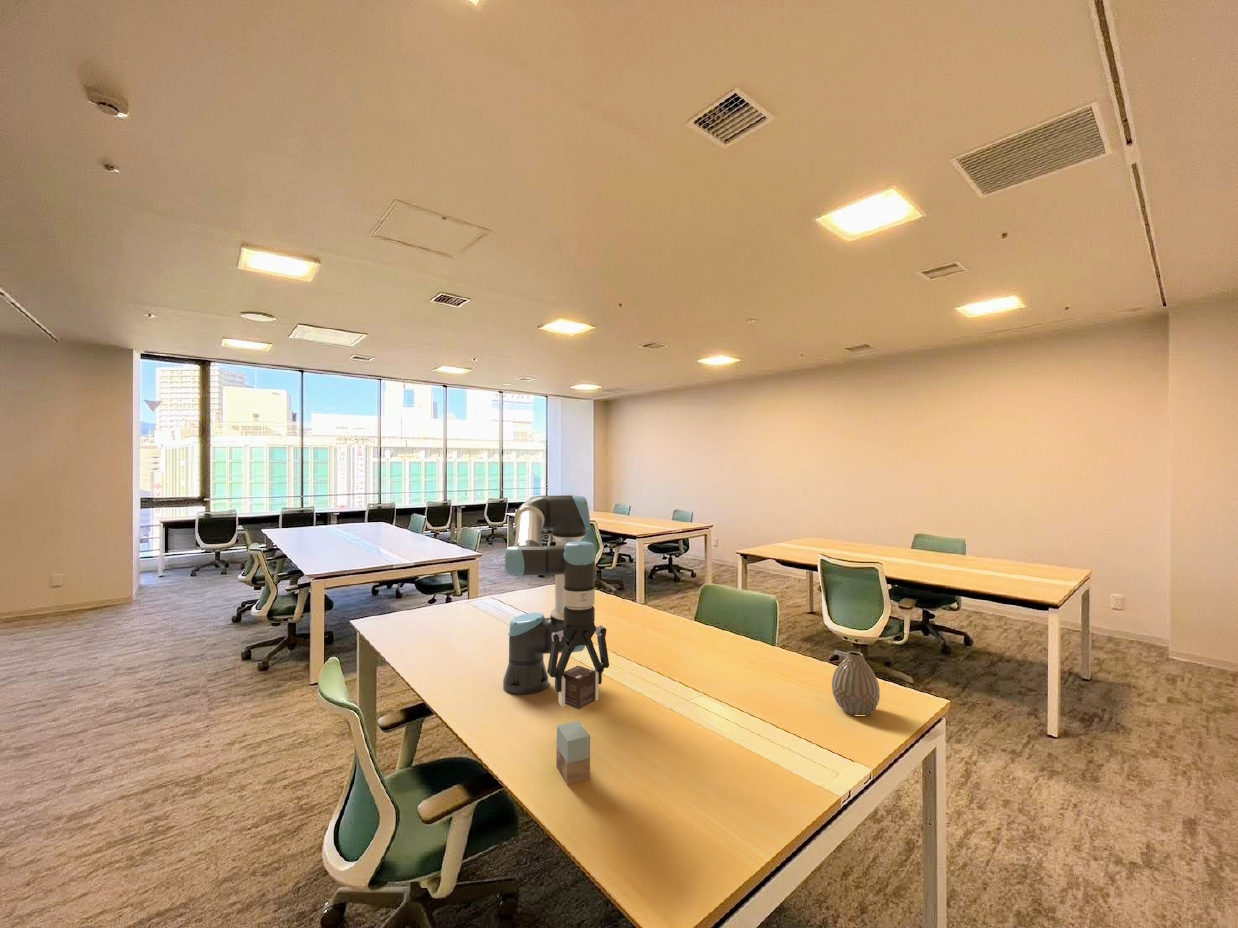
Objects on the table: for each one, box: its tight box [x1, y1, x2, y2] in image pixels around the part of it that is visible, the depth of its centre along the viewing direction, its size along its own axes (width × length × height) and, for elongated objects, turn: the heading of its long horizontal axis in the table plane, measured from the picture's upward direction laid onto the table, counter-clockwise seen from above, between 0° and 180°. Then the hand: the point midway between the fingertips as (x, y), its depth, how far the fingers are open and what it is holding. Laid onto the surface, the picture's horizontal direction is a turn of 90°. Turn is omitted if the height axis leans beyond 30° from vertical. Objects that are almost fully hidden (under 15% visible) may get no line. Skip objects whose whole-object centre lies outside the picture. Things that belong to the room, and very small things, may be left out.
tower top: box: [556, 720, 591, 763], centre depth 118 cm, size 8×6×5 cm
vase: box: [831, 650, 881, 716], centre depth 150 cm, size 13×13×18 cm
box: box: [563, 665, 596, 710], centre depth 120 cm, size 6×6×7 cm
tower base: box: [555, 746, 591, 786], centre depth 118 cm, size 8×6×5 cm
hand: (578, 700), depth 120 cm, fingers closed on box, 8 cm apart
